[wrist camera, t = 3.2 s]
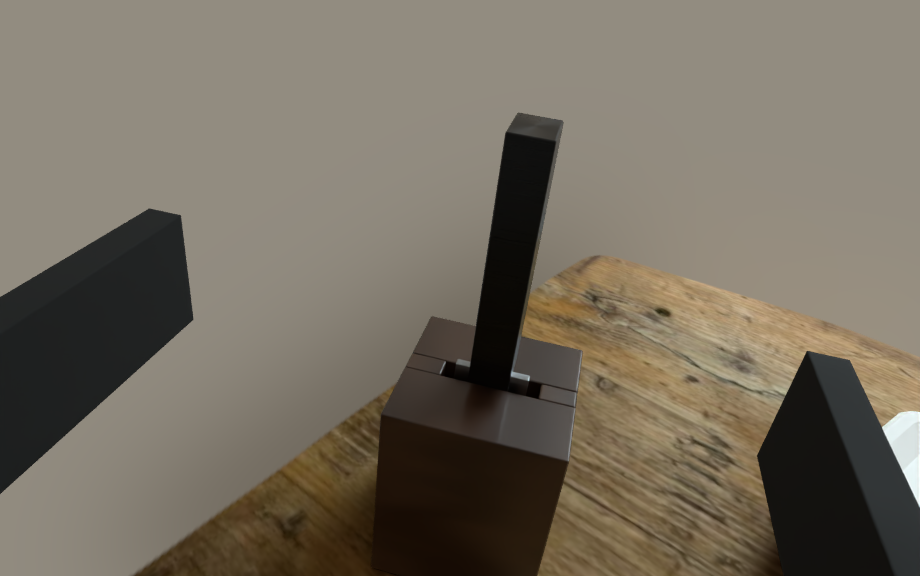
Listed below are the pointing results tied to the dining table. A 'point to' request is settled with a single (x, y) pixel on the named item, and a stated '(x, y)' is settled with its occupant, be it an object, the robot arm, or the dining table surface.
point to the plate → (906, 446)
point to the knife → (512, 252)
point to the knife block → (472, 460)
